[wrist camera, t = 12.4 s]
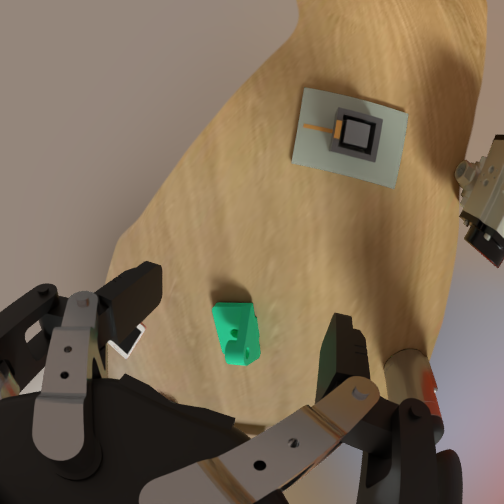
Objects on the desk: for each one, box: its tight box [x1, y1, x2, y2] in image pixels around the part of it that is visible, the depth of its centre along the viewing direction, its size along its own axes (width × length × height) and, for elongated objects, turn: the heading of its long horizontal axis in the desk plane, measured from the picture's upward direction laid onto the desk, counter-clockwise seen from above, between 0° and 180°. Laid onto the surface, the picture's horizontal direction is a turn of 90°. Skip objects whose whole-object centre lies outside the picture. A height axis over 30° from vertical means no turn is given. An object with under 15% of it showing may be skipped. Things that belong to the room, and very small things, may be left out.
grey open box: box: [329, 107, 383, 163], centre depth 32 cm, size 6×6×5 cm
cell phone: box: [108, 323, 146, 359], centre depth 64 cm, size 9×18×1 cm, turn 143°
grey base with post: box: [292, 87, 408, 189], centre depth 32 cm, size 16×12×7 cm
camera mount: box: [212, 302, 261, 366], centre depth 48 cm, size 12×8×10 cm, turn 8°
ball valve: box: [455, 135, 504, 268], centre depth 24 cm, size 18×8×18 cm, turn 156°
